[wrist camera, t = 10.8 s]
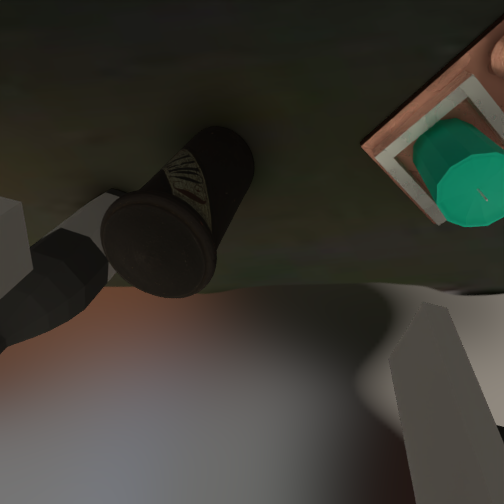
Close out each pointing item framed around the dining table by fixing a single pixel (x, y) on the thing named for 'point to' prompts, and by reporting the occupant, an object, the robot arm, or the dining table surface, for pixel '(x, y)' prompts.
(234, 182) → the container
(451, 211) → the candle
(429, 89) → the brown stand with post
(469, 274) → the dining table surface
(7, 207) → the robot arm
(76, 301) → the wine bottle
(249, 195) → the dining table surface
